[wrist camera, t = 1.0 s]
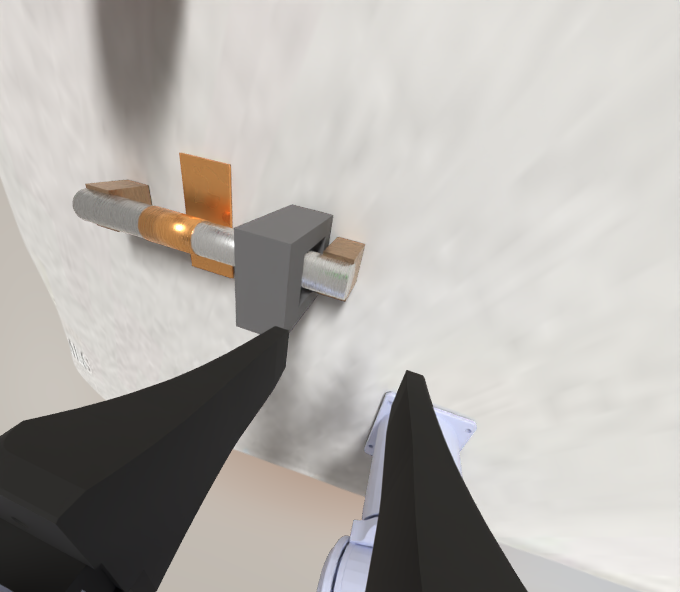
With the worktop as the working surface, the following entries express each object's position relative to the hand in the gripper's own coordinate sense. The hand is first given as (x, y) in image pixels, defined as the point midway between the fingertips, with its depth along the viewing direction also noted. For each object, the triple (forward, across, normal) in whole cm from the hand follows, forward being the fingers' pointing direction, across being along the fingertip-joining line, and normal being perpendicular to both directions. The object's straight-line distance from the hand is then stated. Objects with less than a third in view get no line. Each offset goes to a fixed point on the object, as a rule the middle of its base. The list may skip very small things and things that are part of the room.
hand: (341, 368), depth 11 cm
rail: (+10, +12, 0) cm, 16 cm away
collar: (+10, +6, 0) cm, 12 cm away
